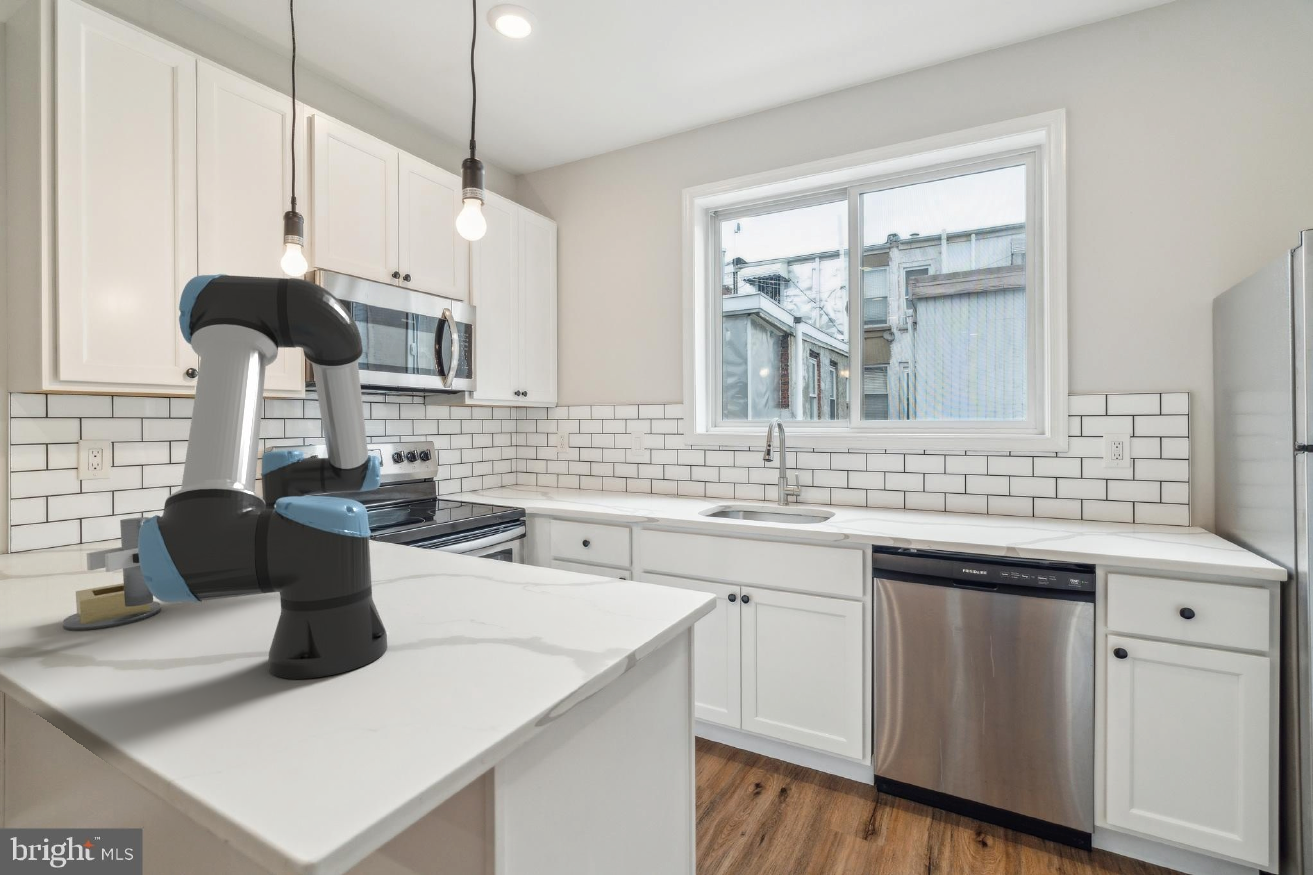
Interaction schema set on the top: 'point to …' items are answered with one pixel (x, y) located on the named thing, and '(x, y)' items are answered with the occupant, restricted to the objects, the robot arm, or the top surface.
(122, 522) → the pin
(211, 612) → the top surface
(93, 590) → the socket
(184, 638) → the top surface
